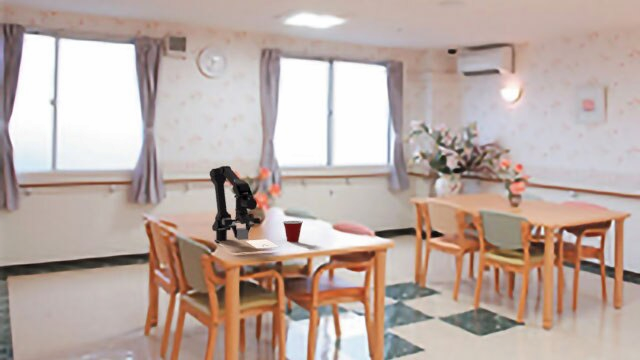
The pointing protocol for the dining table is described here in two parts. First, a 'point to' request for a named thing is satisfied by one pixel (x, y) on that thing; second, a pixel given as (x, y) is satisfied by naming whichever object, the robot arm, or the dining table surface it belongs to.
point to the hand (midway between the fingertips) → (241, 237)
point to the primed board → (262, 243)
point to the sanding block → (241, 233)
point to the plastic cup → (292, 230)
